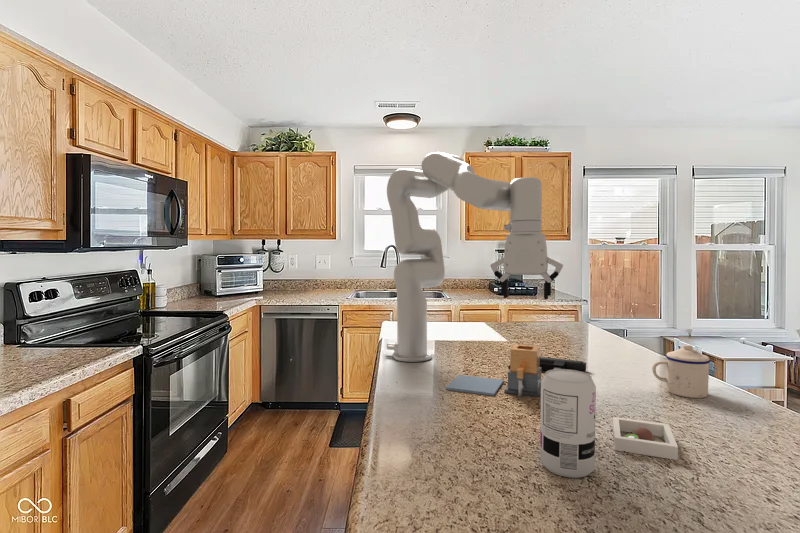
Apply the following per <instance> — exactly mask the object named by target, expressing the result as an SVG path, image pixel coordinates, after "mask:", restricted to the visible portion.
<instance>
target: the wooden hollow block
mask: <svg viewBox="0 0 800 533" xmlns="http://www.w3.org/2000/svg"><path fill="white" fill-rule="evenodd" d="M540 348H541V347H540V346H539V345H530V344H529V345H527V344H516V343H514V344H513V346H512V347H511V348H510V349H509V350H510V355H509V356H510V357H509V358H510V359H509V361H510V362H509V365H510V371H511V372H517V378H520V379H523V378H524V376H525V374H526V373H530V374H537V372H538V370H539V368H540V357H541V355H540V354H541V353H540V352H541V349H540Z"/></svg>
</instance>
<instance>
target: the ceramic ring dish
mask: <svg viewBox="0 0 800 533" xmlns="http://www.w3.org/2000/svg"><path fill="white" fill-rule="evenodd" d="M639 427H643V428H646V429H648V430H650V431H651V433H652V434H653V437H659V438H660V437H661V438H662V439H663V441H664V442H661V441H654V440H652V441H649V440H642V439H635V438H629V437H623V436H622V435H621V432H625V433H627V432H628V433H631V432H632V433H631V434H634V432H635V430H636V429H637V428H639ZM612 436H613V446H614V447H613V448H614V451H619V452H624V451H625V453H631V454H638V455H644V456H650V457H656V458H664V459H669V460H675V461H678V460H679V447H678V444H677V441H676V438H675V436H674V434H673V431H672V428H671V427H670V423H668V424H667V423H663V422H655V421H646V420H639V419H638V420H637V419H632V418H626V417H625V418H623V417H618V416H617V417H616V416H612Z"/></svg>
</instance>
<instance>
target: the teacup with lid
mask: <svg viewBox="0 0 800 533" xmlns="http://www.w3.org/2000/svg"><path fill="white" fill-rule="evenodd" d="M693 348H694V347H693V345H690V344H683V345H682V348H678V349H676V350H674V351H668V352H666V355H665V358H666V361H665V360H657V361H655V362H654V363H653V365H652V368H651V370H652V373H653V376H654V377H655V378H656V379H657V380H658V381H661V382H665V390H666V391H667V392H668V393H670V394H673V395H675V396H679V397H684V398H688V399H689V398H690V399H702V398H703V399H704V398H706V397H708V395H709V379H710V378H709V370H710V369H709V368H710V363H711V360H710V357H709V356H708V355H706V354H702V353H700V352H699V351H698V350H697V349H696V350H695V349H693ZM660 365H666V377H662V376H659V375H658V374H657V370H656V369H657V367H658V366H660Z"/></svg>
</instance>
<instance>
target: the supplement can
mask: <svg viewBox="0 0 800 533" xmlns="http://www.w3.org/2000/svg"><path fill="white" fill-rule="evenodd" d="M596 393H597V386H596V384H595V382H594V380H593V378H592V375H591V374H589V373H587V372H585V371H582V372H581V371H576V370H568V369H554V370H549V371H546V372H545V373H544V376H543V377H542V379H541V397H540V434H539V436H540V440H539V442H540V444H539V446H540V447H539V450H540V451H539V460H540V462H541V464H542V465H543V466H544V467H545V469H546V470H548V471H549V472H551V473H552V474H555V475H557V476H561V477H565V478H570V479H579V478H584V477H587V476H588V475H590V474H592V472H594V471H595V462H596V461H595V459H596V457H595V456H596V452H595V450H596V446H595V445H596V404H597V402H596V398H597V396H596Z"/></svg>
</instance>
